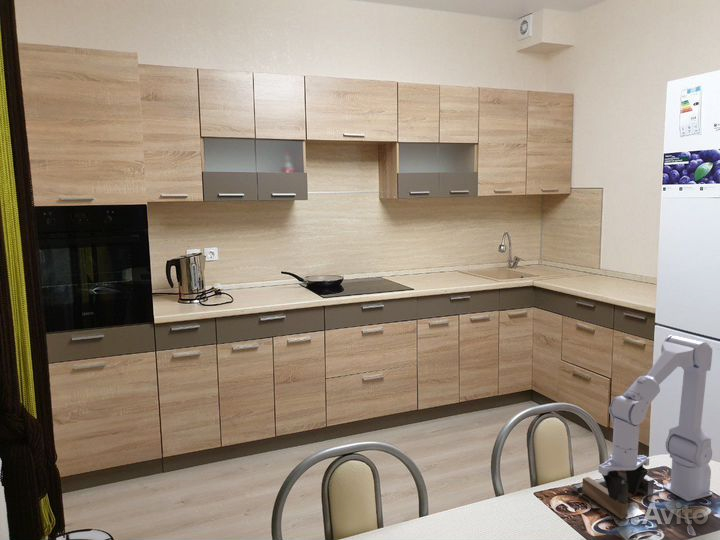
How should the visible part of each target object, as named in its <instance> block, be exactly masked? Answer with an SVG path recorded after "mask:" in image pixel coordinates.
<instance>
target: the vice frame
mask: <svg viewBox="0 0 720 540" xmlns="http://www.w3.org/2000/svg"><path fill="white" fill-rule="evenodd" d="M593 480H594V479H593ZM594 481H596V482H597V483H599V484H600V485H602V486H604V487H607V485H606V482H605V480H604V478H603V477H602V478H599V479H595V480H594ZM654 483H655V479H654V478H652V477H651V476H649V475H648V474H647V475H646V476H645V477H644V478H643V480H642V481H641V483H640V485H639V488H638V491H637V492H640V493H641V494H643V495H644V496H647V497H651V496H654V490H655V489H654V488H655V487H654V486H655V485H654ZM582 484H583V482H582V483H578V484H574V485H572V486H573V491H574V492H575V493H576V494H579V496H581V497H582V498H583V499H584V500H587V502H590V503H591V504H592V505H594V506H595V507H596V508H598V509H599V510H600V511H602V512H604V513H605V514H606V515H608V516H609V517H611V518H612V519H614V520H615V521H617V522H621V521H626V520H629V519H633V518H636V517H639V516H643V515H646V512H644V511H643V510H641V509H639V508H638V507H636V506H635V505H633V503H632V504H631V503H629V502H628V516H627V517H626V518H623V519H621V518H619V517H618V516H616V515H615V514H614V513H612V512H611V511H609V510H608V509H606V508H605V507H603V506H602V505H600V504H599V503H597V502H596V501H595V500H593V499H592V498H590V497H589V496H587V495H586V494H584V493H583V492H582Z"/></svg>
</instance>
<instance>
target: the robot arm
mask: <svg viewBox="0 0 720 540" xmlns="http://www.w3.org/2000/svg"><path fill="white" fill-rule="evenodd" d="M660 353H661V354H660V356H659V357H658V358H657V360H656V361H655V363H654V364H653V365H652V367H651V368H650V369H649V371H648V373H647V374H646V375H640V376H639V377H637V378H636V379H635V381H633V383H632V384H631V385H630V386H629V388H627V390H626V391H625V392H624V393H623V395H618V396H615V397H614V398H612V401H610V405H609V407H608V412H609V415H610V416H611V423H612V424H613V431H612V432H613V434H612V451H611V454H610V455H609V459H608V460H606V461H604V462H603V463H601V464H598V473H599V474H601V475H602V478H604V480H605V482H606V485H607V486H606V488H607V489H608V493H609V497H610V498H612V499H613V500H617V499H618V496H619V488H620V485H621V482H622V480H623V479H624V478H622V477H621V476H619V475H618V473H617V471H619V470H626V476H627V482H628V492H629V493H630V494H632V495H633V496H632V497H634V496H636V495H637V493H638V492H639V491H638V488H639V485H640V483H641V481H642V480H643V478H644V477H645V476H646V475H647V476H648V469H647V468H645V467H644V466H646V467H648V466H649V465H650V457H648V456H646V455H644V454H642V455H641V454H639V439H640V425H641V424H642V423H643V422H644V421H645V419H646V416H647V412H648V411H649V405H650V404H651V403H652V402H653V401H654V400H655V398H656V397H657V396H658V395H659V394H660V392H661V388H660V385H661V384H662V383H663V382H664V381H665V380H666V379H667V378H668V377H669V376H670V375H671V374H672V373H673V372H674V371H675V370H676V369H677V368H678V367H679V368H680V367H681V369H683V378H682V387H681V396H680V397H681V398H680V405H679V407H680V408H679V417H678V418H679V419H678V424H676V425H674V426H672V427H671V428H669V431H668V435H667V437H666V440H665V445H664V446H665V449H666V452H667V453H669V458H671V471H670V472H671V473H670V482H669V483H667V484H663V485H662V488H663V489H665V490H667V491H669V492H670V493H672V494H674V495H676V496H677V497H679V498H681V499H683V500H684V501H687V502H691V501H694V500H697V499H701V498H706V497H709V496H712V495H713V492H712V491H710V488H711V478H712V476H711V475H712V470H711V467H710V465H709V463H710V462H711V461H712V457H713V450H712V439H711V438H710V436H709V435H708V434H707V433H706V432H705V431H704V430H703V429H702V422H703V421H702V419H703V410H704V402H705V400H704V399H705V391H706V382H707V374H708V373H707V372H709V371H711V367H712V359H713V347H711V345H710V344H709V343H708V342H707V341H706V342H705V341H700V340H695V339H690V338H688V337H687V338H686V337H681V336H678V335H676V334H675V335H674V334H670V335H668V336H667V337H666V338H665V339H664V340H663V342H662V343H661V348H660ZM638 454H639V455H638Z"/></svg>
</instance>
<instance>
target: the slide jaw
mask: <svg viewBox="0 0 720 540" xmlns="http://www.w3.org/2000/svg"><path fill="white" fill-rule="evenodd" d="M582 483H583V484H582V492H581V493H584V494H586V495H587V496H589V497H590V498H592V499H593V500H595V501H596V502H597V503H599V504H600V505H602V506H603V507H605V508H606V509H608V510H609V511H611V512H612V513H614V514H615V515H616V516H618V517H619V518H621V519H623V518H626V517H627V516H628V503H629V501H628V498H629V497H628V482H627V481H624V480H622V482H621V485H620V488H619V496H618V499H617V500H613V499H612V498H610V497H609V493H608V489H607V487H606V486H602V485H600V484H599V483H597V482H596V481H594V479H593V478H591V477H589V476H588V477H587V476H586V477H583V478H582Z"/></svg>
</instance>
